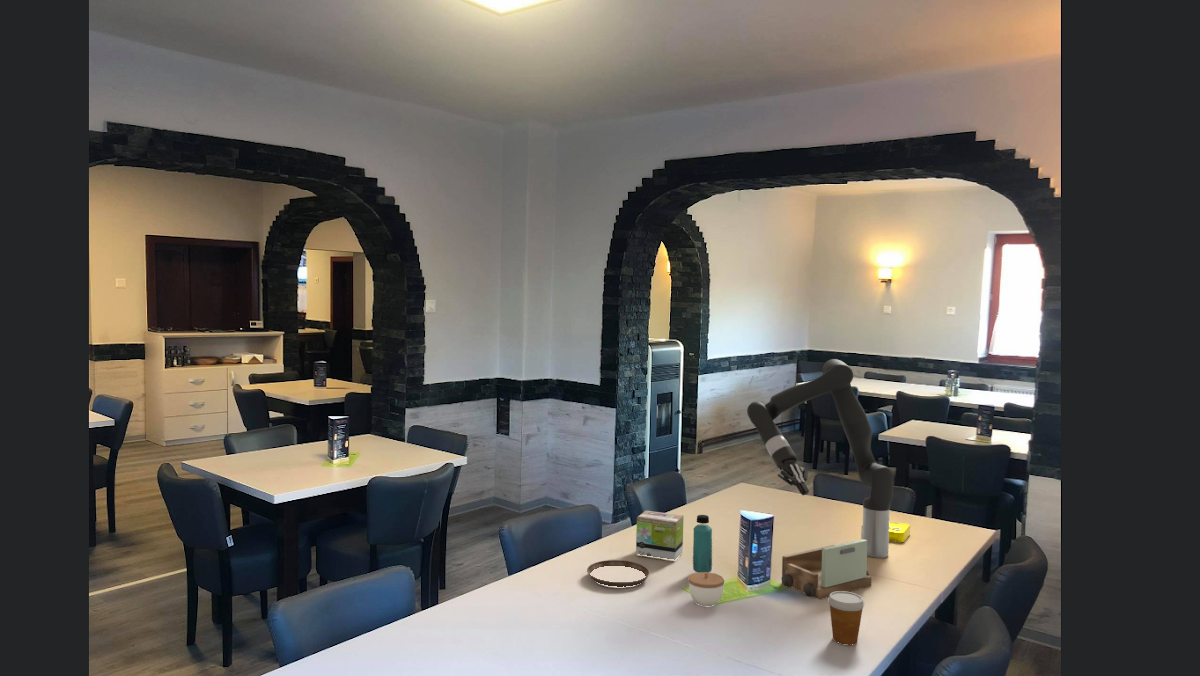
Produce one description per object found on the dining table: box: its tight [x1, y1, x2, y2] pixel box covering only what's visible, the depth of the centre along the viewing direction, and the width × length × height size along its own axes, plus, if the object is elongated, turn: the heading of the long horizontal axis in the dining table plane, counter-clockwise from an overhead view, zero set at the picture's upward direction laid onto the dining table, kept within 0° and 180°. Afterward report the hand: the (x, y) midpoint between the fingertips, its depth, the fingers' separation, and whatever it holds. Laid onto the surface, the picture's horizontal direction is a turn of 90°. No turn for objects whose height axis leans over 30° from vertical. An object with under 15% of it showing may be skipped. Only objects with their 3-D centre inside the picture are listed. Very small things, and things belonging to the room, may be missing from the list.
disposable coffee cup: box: [827, 591, 865, 646], centre depth 206 cm, size 10×10×12 cm
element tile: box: [889, 520, 911, 543], centre depth 304 cm, size 15×15×5 cm
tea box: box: [635, 509, 684, 560], centre depth 275 cm, size 15×10×15 cm, turn 68°
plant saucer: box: [586, 559, 650, 587], centre depth 251 cm, size 21×21×3 cm
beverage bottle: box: [692, 514, 713, 573], centre depth 256 cm, size 6×7×20 cm
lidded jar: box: [688, 572, 725, 607], centre depth 231 cm, size 11×11×9 cm
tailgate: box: [821, 539, 868, 588], centre depth 242 cm, size 2×19×12 cm, turn 121°
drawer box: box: [781, 544, 872, 600], centre depth 248 cm, size 16×26×9 cm, turn 121°
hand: (806, 493), depth 256 cm, fingers closed
